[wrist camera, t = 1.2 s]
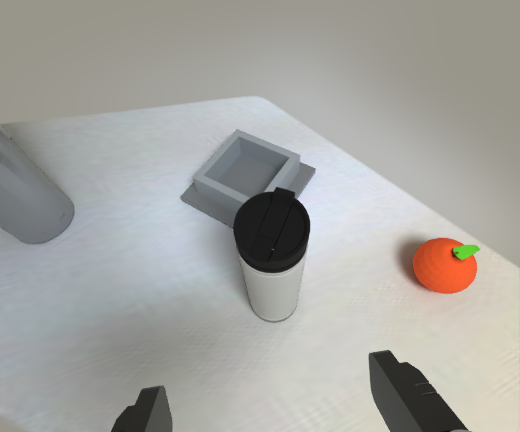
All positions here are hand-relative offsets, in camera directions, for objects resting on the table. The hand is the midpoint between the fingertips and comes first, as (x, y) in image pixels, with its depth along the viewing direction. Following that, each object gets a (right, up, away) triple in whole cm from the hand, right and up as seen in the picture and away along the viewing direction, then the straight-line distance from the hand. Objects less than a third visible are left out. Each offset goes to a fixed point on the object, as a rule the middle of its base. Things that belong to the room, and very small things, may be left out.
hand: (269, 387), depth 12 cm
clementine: (+23, -1, +30) cm, 38 cm away
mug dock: (-2, +12, +39) cm, 41 cm away
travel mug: (+2, -4, +29) cm, 30 cm away
